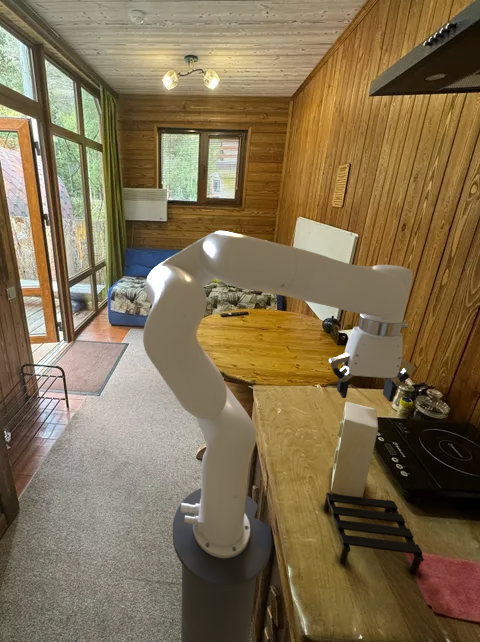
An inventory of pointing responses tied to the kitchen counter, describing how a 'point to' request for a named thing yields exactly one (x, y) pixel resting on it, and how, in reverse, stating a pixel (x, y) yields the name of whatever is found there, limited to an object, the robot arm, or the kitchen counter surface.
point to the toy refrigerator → (354, 449)
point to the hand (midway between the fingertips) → (364, 396)
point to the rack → (372, 527)
